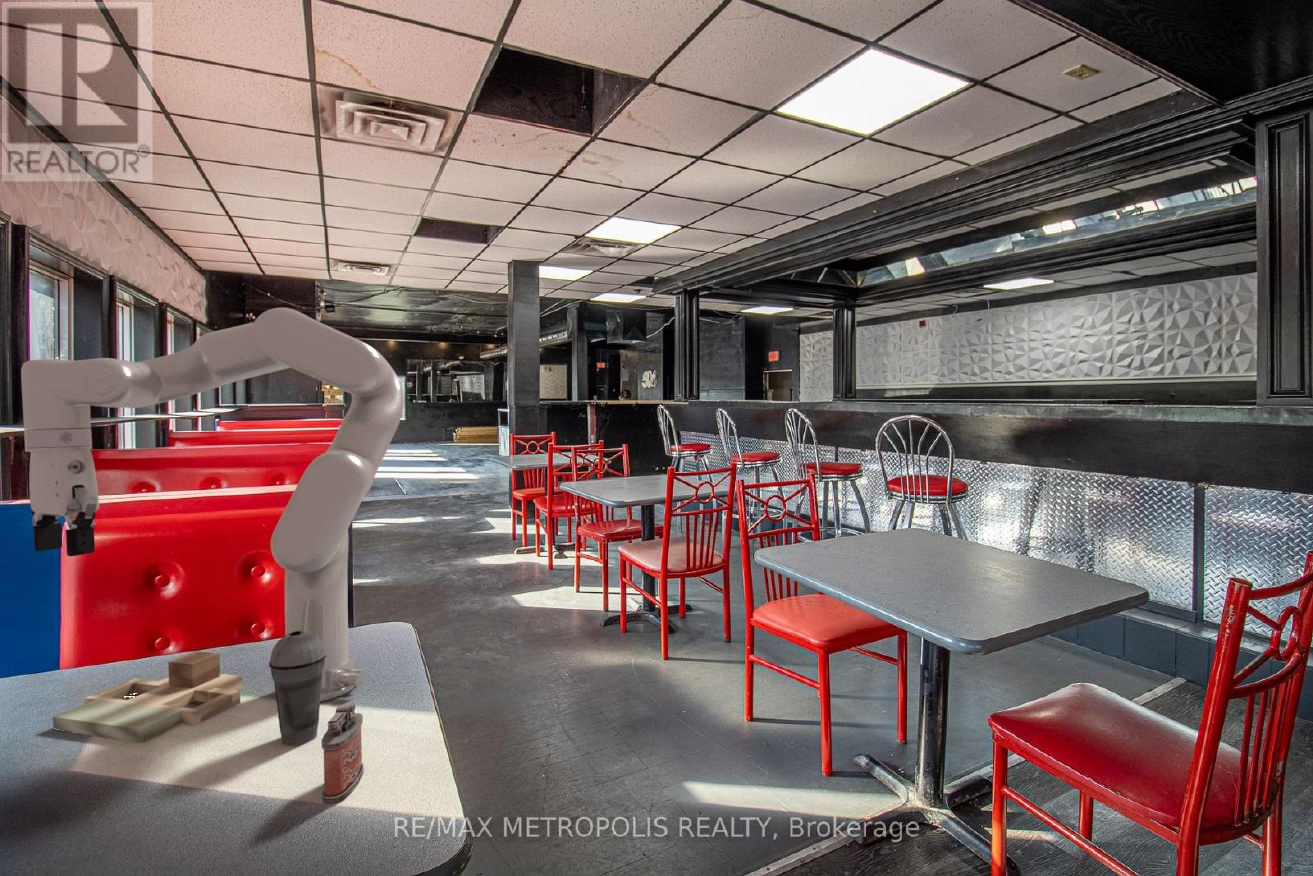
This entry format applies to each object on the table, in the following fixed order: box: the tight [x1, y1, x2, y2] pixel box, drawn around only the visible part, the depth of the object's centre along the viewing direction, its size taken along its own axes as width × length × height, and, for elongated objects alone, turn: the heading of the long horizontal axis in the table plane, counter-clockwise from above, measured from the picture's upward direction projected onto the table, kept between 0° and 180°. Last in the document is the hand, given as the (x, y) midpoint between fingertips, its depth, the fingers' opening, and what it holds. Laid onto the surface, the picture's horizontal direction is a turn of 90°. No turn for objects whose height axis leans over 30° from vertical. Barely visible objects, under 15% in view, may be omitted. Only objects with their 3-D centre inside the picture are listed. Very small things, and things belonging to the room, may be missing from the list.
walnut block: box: [168, 650, 221, 688], centre depth 109 cm, size 5×5×4 cm
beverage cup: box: [268, 601, 326, 746], centre depth 93 cm, size 7×7×20 cm
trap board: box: [52, 673, 243, 744], centre depth 103 cm, size 22×19×2 cm
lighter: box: [321, 700, 365, 806], centre depth 81 cm, size 8×3×10 cm, turn 5°
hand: (64, 552), depth 99 cm, fingers open, 9 cm apart
